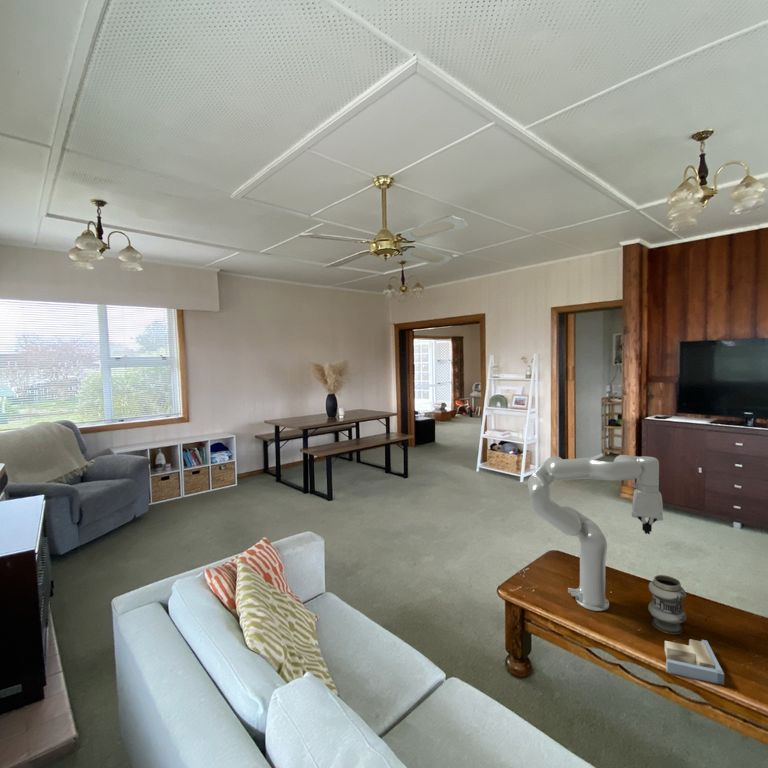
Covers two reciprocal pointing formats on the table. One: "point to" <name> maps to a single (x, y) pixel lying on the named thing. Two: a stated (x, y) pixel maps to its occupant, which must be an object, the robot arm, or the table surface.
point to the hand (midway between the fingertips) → (646, 532)
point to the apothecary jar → (667, 604)
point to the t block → (689, 653)
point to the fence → (698, 669)
